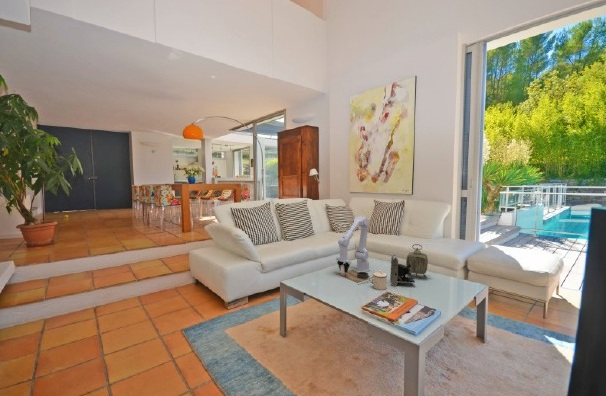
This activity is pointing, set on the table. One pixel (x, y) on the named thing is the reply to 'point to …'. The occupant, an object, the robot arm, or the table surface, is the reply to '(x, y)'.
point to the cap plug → (343, 271)
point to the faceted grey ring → (362, 275)
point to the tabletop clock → (417, 262)
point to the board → (353, 276)
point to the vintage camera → (399, 272)
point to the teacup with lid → (379, 280)
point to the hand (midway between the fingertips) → (343, 271)
